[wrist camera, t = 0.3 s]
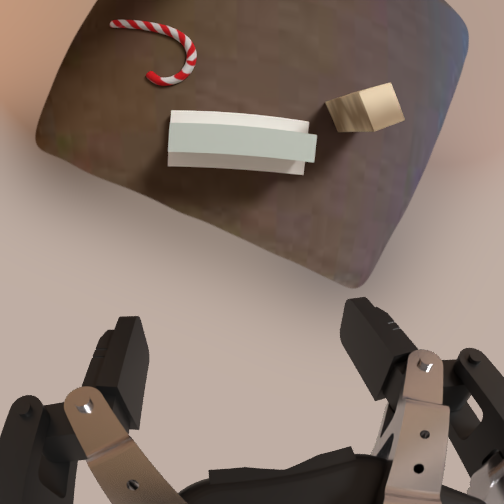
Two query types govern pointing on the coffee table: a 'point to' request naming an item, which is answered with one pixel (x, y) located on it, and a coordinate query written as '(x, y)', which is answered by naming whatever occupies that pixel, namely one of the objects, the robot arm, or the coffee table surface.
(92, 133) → the coffee table surface
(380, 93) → the pine block
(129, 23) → the candy cane
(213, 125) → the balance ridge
